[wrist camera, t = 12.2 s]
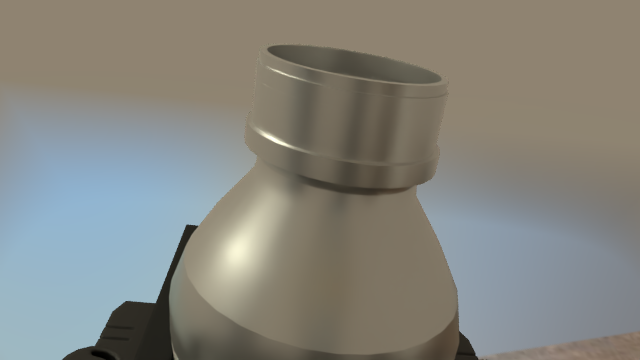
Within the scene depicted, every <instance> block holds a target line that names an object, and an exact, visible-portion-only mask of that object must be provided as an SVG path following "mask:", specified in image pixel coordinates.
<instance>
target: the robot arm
mask: <svg viewBox="0 0 640 360" xmlns="http://www.w3.org/2000/svg"><path fill="white" fill-rule="evenodd" d="M197 227H198V226H195V225H186V227H185V230H184V233H183V235H182V238H181V240H180V243H179V245H178V248H177V251H176V253H175V255H174V258H173V261H172V263H171V266H170V268H169V271H168V273H167V276H166V278H165V281H164V284H163V286H162V289H161V291H160V294H159V296H158V299H157V301H156V303H143V302H131V301H126V302H124V303H123V304H122V305H121V306H119V307H118V308H117V309H116V310H114V311H113V312H112V314H111V316H110V318H109V320H108V322H107V324H106V327H105V328H104V330H103V331H102V333H101V336H100V339H98V342H97V343H96V345H95V346H90V347H87V348H82V349H78V350H76V351H74V352H72V353H71V354H68V355H67V356H66V357H65V358H64V359H63V360H174V359H173V349H172V342H171V341H172V339H171V334H170V308H169V293H170V287H171V280H172V277H173V275H174V273H175V270H176V268H177V265H178V263H179V261H180V258H181V256H182V254H183V251H184V249H185V246H186V245H187V243H188V241H189V239H190V237H191V235H192V234H193V232H194V231H195V230H196V229H197ZM454 360H478V358H477V356H475V352H474V350H473V348H472V346H471V344H470V342H469V340H468V339H467V338H466V337H465V336H464V335H463V334H462V333H461V332H460V331H459V345H458V349H457V352H456V356H455V359H454Z"/></svg>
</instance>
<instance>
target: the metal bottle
mask: <svg viewBox="0 0 640 360" xmlns="http://www.w3.org/2000/svg"><path fill="white" fill-rule="evenodd" d="M256 62H257V63H256V75H255V85H254V96H253V107H252V111H251V112H249V114H248V115H247V117H246V126H245V143H246V145H247V146H248V147H249V149H250V150H251V151H252V152H254V153H255V154H256V155H257V160H256V163H255V166H254V167H253V168H252V169H251V170H250V171H249V172H248V173H247V174H246V175H245V176H244V177H243V178H242V179H241V180H240V181H239V182H238V183H237V184H236V185H235V186H234V187H233V188H232V189H231V190H230V191H229V192H228V193H227V194H226V195H225V196H224V197H223V198H222V199H221V200H220V201H219V202H218V203H217V204H216V205H215V206H214V208H213V209H212V210H211V211H210V213H209V214H208V215H207V216H206V218H205V219H204V220H203V221H202V222H201V224H200V225H199V226H198V227H197V229H196V230H195V231H194V232H193V234H192V235H191V237H190V239H189V241H188V243H187V245H186V246H185V249H184V251H183V254H182V256H181V258H180V261H179V263H178V265H177V268H176V270H175V273H174V275H173V277H172V280H171V287H170V293H169V308H170V334H171V339H172V341H171V342H172V349H173V359H174V360H454V359H455V356H456V352H457V349H458V345H459V318H458V317H459V316H458V295H457V288H456V285H455V283H454V280H453V277H452V275H451V272H450V269H449V266H448V264H447V261H446V259H445V256H444V253H443V250H442V248H441V245H440V243H439V241H438V239H437V236H436V234H435V232H434V230H433V229H432V226H431V224H430V222H429V220H428V218H427V216H426V214H425V212H424V211H423V209H422V206H421V204H420V202H419V200H418V199H417V196H416V186H417V185H419V184H423V183H425V182H427V181H428V180H430V179H432V177H433V176H434V174H435V172H436V167H437V163H438V159H439V155H440V150H439V147H438V146H437V144H436V143H437V139H438V135H439V130H440V126H441V122H442V118H443V113H444V108H445V105H446V101H447V97H448V90H447V87H448V83H449V81H448V79H447V78H446V77H445V76H443V75H441V74H439V73H437V72H435V71H432V70H430V69H427V68H424V67H420V66H417V65H414V64H410V63H406V62H403V61H399V60H395V59H390V58H386V57H381V56H376V55H372V54H367V53H361V52H356V51H349V50H344V49H336V48H330V47H321V46H312V45H301V44H268V45H264V46H262V47H261V48H260V53H259V57H258V58H257V61H256Z"/></svg>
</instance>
